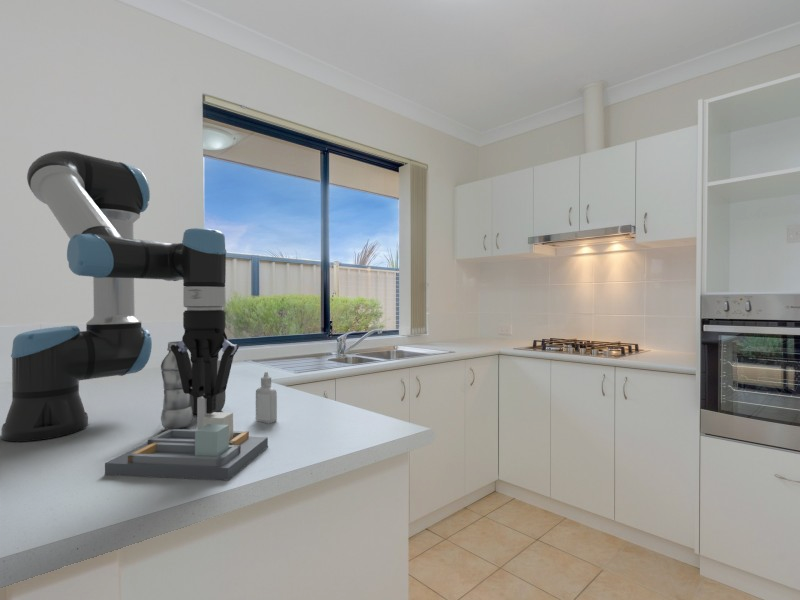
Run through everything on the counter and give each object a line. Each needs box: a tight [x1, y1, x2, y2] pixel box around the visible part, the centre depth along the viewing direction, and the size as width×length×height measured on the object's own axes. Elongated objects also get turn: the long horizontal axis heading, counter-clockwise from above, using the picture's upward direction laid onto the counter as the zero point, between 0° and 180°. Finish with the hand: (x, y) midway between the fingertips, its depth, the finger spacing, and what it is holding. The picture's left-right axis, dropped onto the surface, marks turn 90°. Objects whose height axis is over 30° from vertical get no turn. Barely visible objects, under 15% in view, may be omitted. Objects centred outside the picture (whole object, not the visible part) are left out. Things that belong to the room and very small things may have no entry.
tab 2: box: [195, 424, 229, 457], centre depth 75 cm, size 4×4×5 cm
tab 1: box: [203, 411, 234, 440], centre depth 83 cm, size 4×4×5 cm
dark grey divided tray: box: [104, 428, 269, 481], centre depth 80 cm, size 22×16×3 cm
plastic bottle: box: [160, 340, 194, 430], centre depth 99 cm, size 6×7×20 cm
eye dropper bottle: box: [255, 371, 278, 424], centre depth 105 cm, size 4×6×12 cm
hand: (204, 429), depth 84 cm, fingers closed
